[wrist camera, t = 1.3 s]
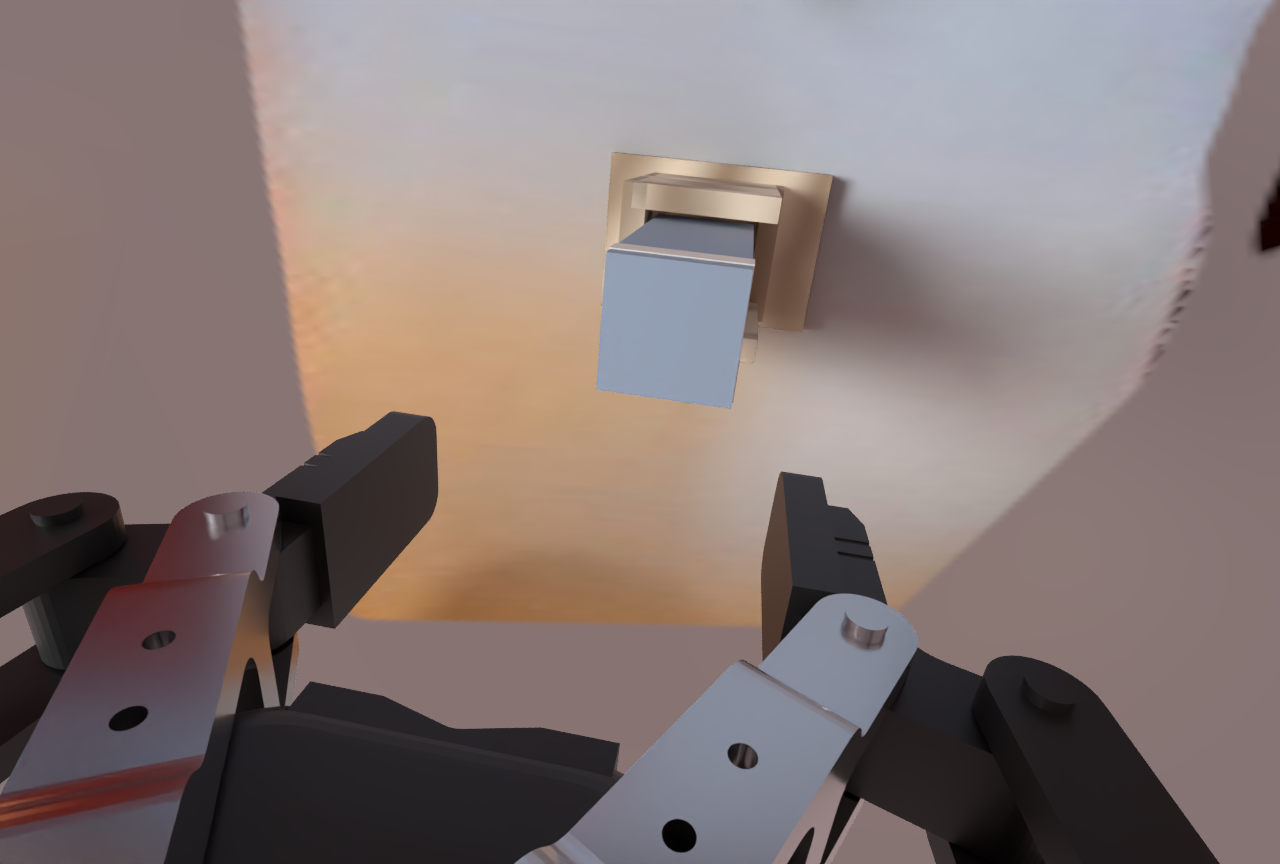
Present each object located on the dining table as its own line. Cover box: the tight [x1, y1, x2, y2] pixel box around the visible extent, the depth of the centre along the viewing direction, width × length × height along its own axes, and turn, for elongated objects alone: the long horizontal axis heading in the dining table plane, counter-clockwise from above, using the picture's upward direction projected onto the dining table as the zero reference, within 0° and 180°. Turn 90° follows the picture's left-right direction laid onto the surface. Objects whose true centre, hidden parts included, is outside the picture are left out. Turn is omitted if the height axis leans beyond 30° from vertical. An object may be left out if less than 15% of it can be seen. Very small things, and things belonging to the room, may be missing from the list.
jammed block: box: [596, 214, 755, 409], centre depth 30 cm, size 5×5×14 cm
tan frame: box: [601, 152, 833, 362], centre depth 39 cm, size 14×10×13 cm
